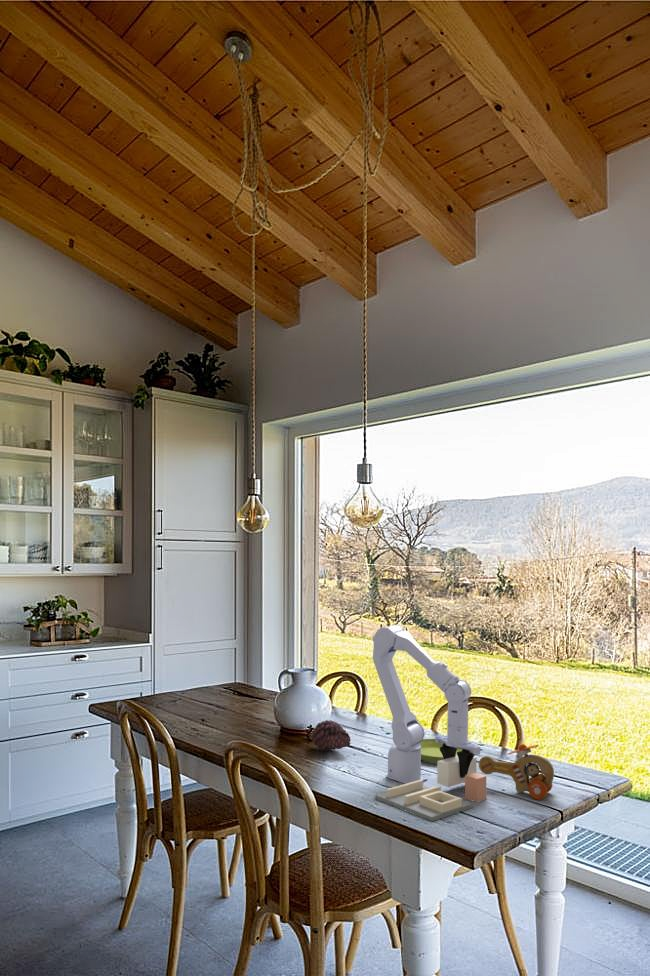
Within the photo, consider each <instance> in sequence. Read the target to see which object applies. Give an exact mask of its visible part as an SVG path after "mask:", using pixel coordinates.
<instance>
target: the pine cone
mask: <svg viewBox="0 0 650 976" xmlns="http://www.w3.org/2000/svg"><path fill="white" fill-rule="evenodd" d="M309 736H310V738H311V740H312V744H313V746H316V748H317V749H319V750H322V751H323V752H325V751H331V750H332V751H335V750H336V749H337V750H341V749H343V748H347V747H348V746H350V745H351V740H352V739H351V736H350V734H349V733H348V732H347V731H346V730H345V729H344V728H343V727H342V726H341V725H340V724H339V723H338V722H337V721H333V720H332V719H331V720H328V719H326V720H324V721H320V722H318V723H317V724H316V726H315V727H314V728H313V731H312V732H311V734H310V735H309Z"/></svg>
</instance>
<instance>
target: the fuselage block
mask: <svg viewBox="0 0 650 976" xmlns="http://www.w3.org/2000/svg"><path fill="white" fill-rule="evenodd" d="M436 772H437V773H436V774H437V775H436V776H437V777H436V784H437V785H441V786H444V787H447V788H451V787H454V786H457V785H460V784H465V777H464V778H461V777H460V766H459V759H458V756H455V757H451V758H447V759H444V760H440V761H437V764H436ZM471 773H477V756H474V757H473V759H472V761H471V763H470V766H469V769H468V773H467V775H468V774H471Z"/></svg>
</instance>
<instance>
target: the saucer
mask: <svg viewBox="0 0 650 976" xmlns="http://www.w3.org/2000/svg"><path fill="white" fill-rule="evenodd" d="M442 746H443V744H441V743H439V744H438V743H436V738H423V740H422V741H421V760H422V761H421V762H424V761H425V762H424V763H428V762H429V764H434V763H435V764H436V765H437V761H440V760H444V758H443V755H442V753H441V751H440V747H442ZM460 751H462V750H461V749H457V751H456V756H458V755H457V752H460ZM435 764H434V765H435Z"/></svg>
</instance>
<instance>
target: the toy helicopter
mask: <svg viewBox="0 0 650 976" xmlns="http://www.w3.org/2000/svg"><path fill="white" fill-rule="evenodd" d="M539 746H540V745H539V744H535V745H533V744H532V745H529V746H527V745H526V744H524V743H521V744H519V746H518V749H516V750H513V751H510V752H509V753H508V755H511V754H512V755H513V754H515V753H517V754H518V756H519V757H520V758H519V759H517V760H515V762H512V761H511V762H510V761H500V760H496V759H495V758H493V757H492V756H490V755H485V756H483V757H481V758H480V759H479V761H478V768H479V771H481V773H482V774H483V775H491V774H493V773H496V774H502V775H507V776H509V777H511V779H512V780H513V781H514V783H515V791H516V792H517V793H519V794H523V793H524V792H528V793H529V795H530V796H531V798H532V799H535V800H537V799H538V800H537V801H539V800H540V801H541V800H543V799H545V798H546V796H548V795H547V794H548V793H549V792H550V791H551V790H552V788H553V781H554V778H555V771H554V765H552V763H551V761H550V760H549V759H547V758H546V757H544V756H542V755H538V754H529V753H531V752H532V750H531V749H536V748H538V747H539Z"/></svg>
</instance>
